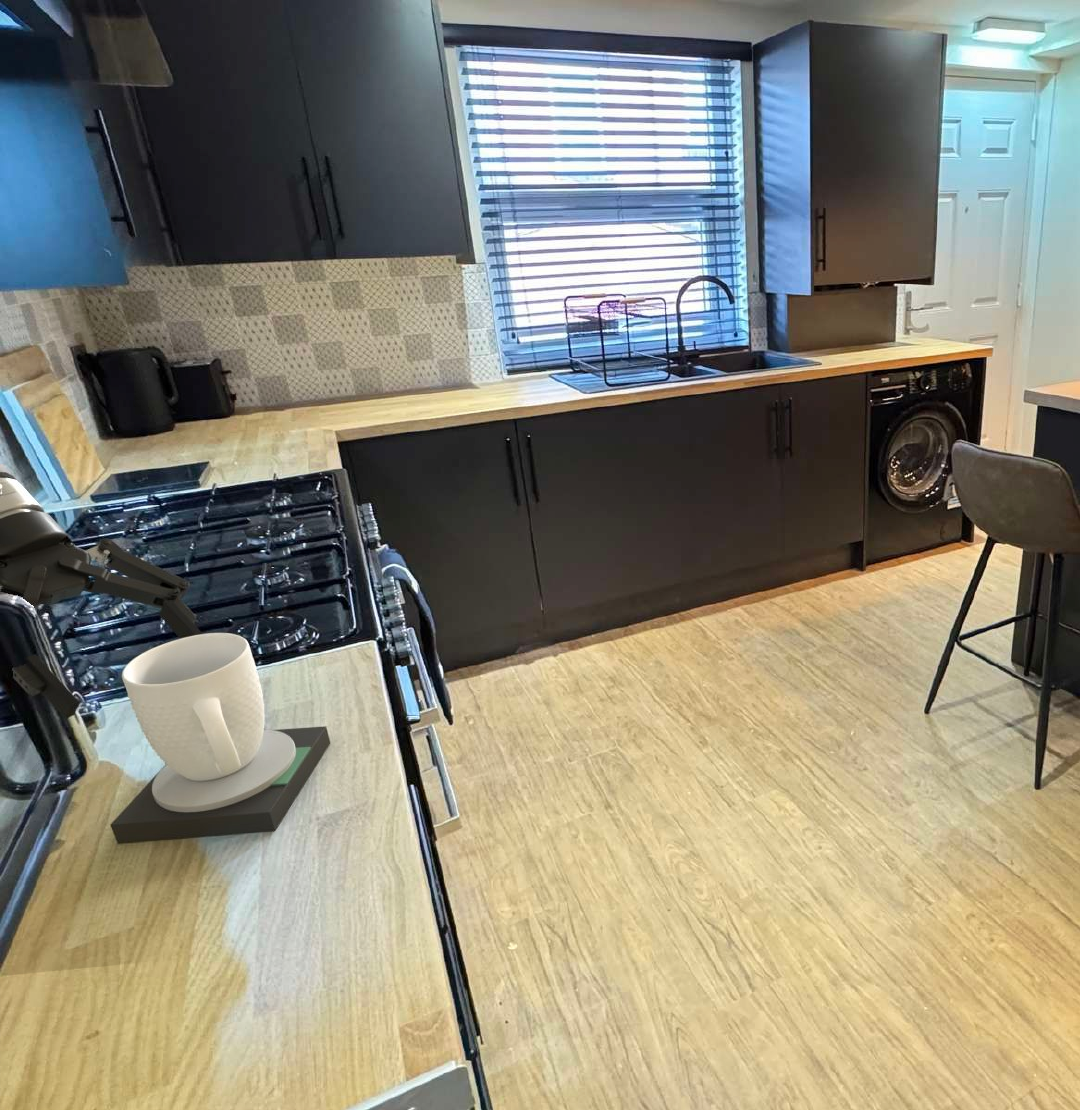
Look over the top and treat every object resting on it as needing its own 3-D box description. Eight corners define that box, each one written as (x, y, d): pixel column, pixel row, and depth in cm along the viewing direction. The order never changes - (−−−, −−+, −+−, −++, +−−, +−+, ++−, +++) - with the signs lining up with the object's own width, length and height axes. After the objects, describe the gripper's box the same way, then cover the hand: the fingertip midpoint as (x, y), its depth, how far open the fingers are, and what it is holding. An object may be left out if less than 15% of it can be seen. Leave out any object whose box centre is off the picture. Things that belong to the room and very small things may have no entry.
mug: (301, 780, 82) (271, 671, 77) (177, 831, 75) (135, 716, 70) (263, 721, 92) (235, 622, 87) (151, 761, 85) (113, 656, 80)
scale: (117, 843, 78) (107, 818, 76) (197, 752, 91) (190, 729, 90) (275, 831, 79) (267, 805, 78) (330, 743, 93) (324, 720, 92)
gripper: (-147, 551, 71) (12, 724, 71) (137, 478, 92) (258, 611, 93) (-153, 595, 75) (-1, 759, 75) (121, 515, 96) (238, 643, 96)
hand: (142, 678), depth 84 cm, fingers open, 13 cm apart
